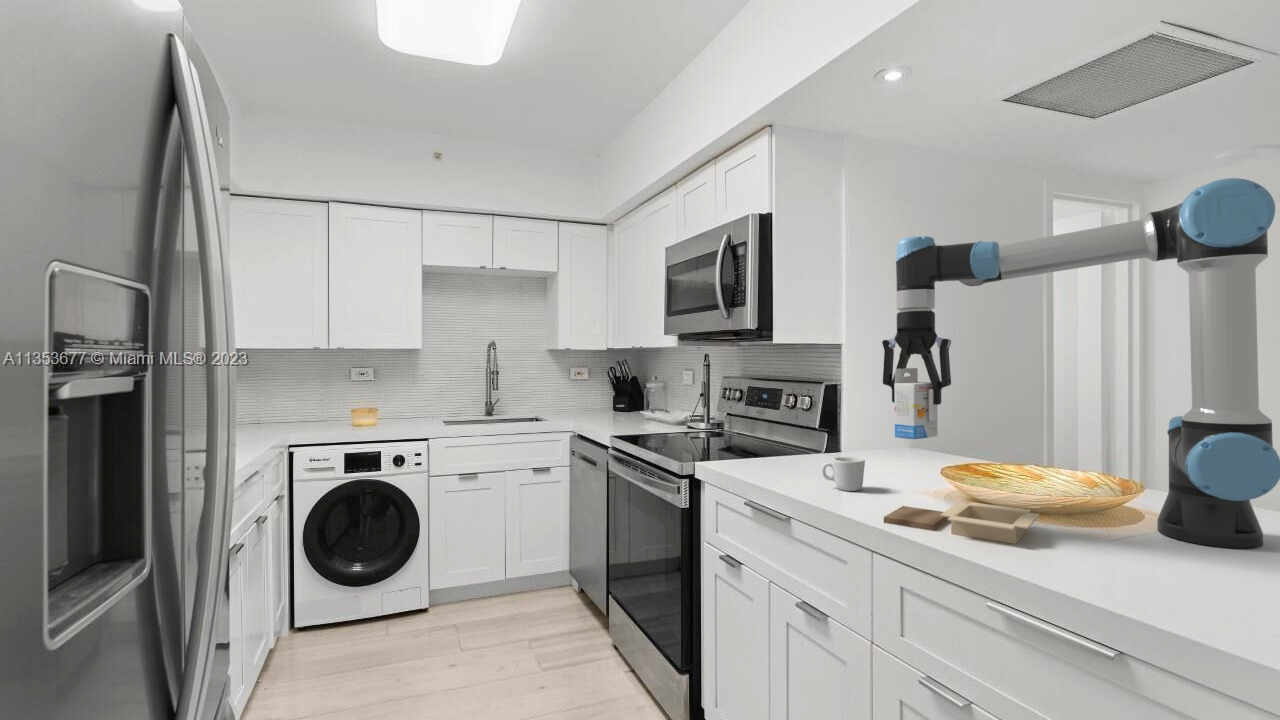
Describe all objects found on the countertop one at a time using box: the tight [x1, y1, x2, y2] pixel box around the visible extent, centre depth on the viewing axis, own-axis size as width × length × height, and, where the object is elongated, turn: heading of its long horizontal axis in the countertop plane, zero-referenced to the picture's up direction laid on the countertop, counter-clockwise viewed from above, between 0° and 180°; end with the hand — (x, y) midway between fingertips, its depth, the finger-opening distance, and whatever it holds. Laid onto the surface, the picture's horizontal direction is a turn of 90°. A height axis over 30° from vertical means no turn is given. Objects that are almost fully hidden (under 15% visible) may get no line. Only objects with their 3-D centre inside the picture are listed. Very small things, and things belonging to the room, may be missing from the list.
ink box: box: [894, 367, 938, 440], centre depth 138 cm, size 8×5×15 cm, turn 124°
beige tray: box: [941, 501, 1041, 545], centre depth 129 cm, size 15×17×4 cm
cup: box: [821, 456, 866, 492], centre depth 169 cm, size 11×8×8 cm
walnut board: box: [883, 505, 949, 531], centre depth 138 cm, size 10×12×1 cm
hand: (916, 418), depth 138 cm, fingers closed on ink box, 6 cm apart
